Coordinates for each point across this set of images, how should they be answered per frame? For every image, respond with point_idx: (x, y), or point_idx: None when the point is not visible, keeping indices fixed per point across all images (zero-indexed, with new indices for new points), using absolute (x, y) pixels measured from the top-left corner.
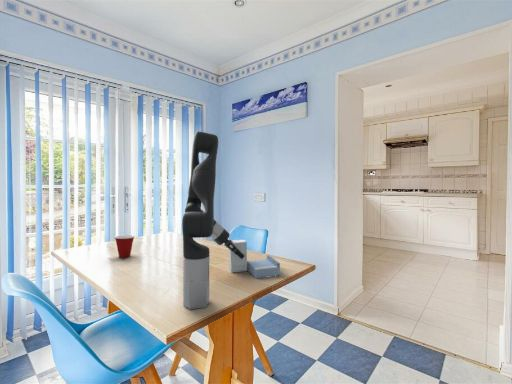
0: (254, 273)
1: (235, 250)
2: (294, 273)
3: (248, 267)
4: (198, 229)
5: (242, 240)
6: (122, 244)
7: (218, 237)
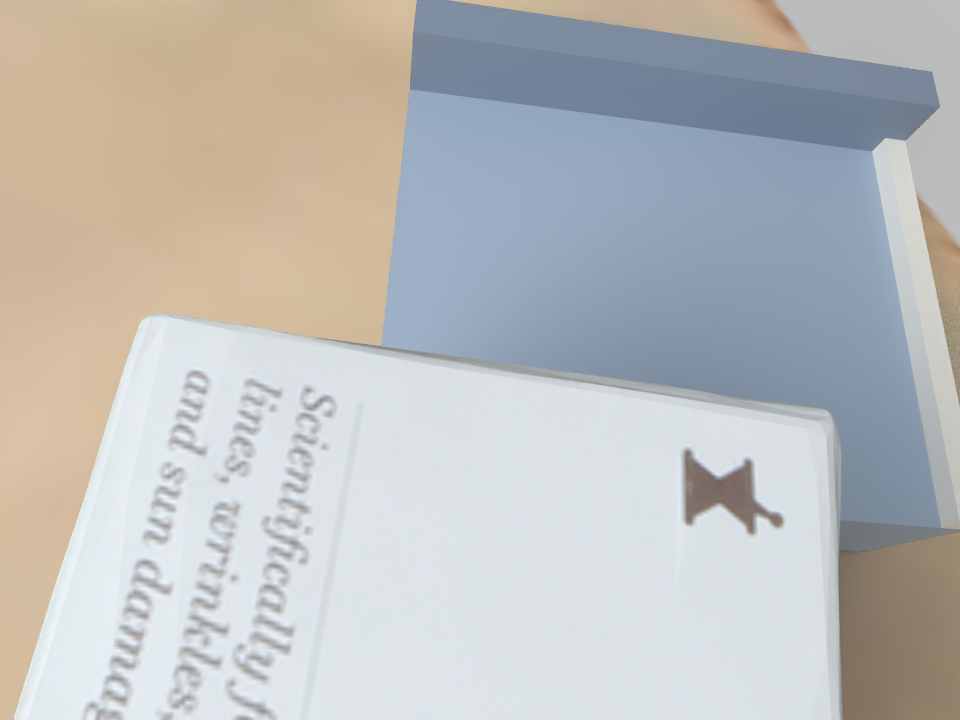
0: (855, 539)
1: None
2: (760, 16)
3: None
4: None
5: (423, 530)
6: None
7: None
